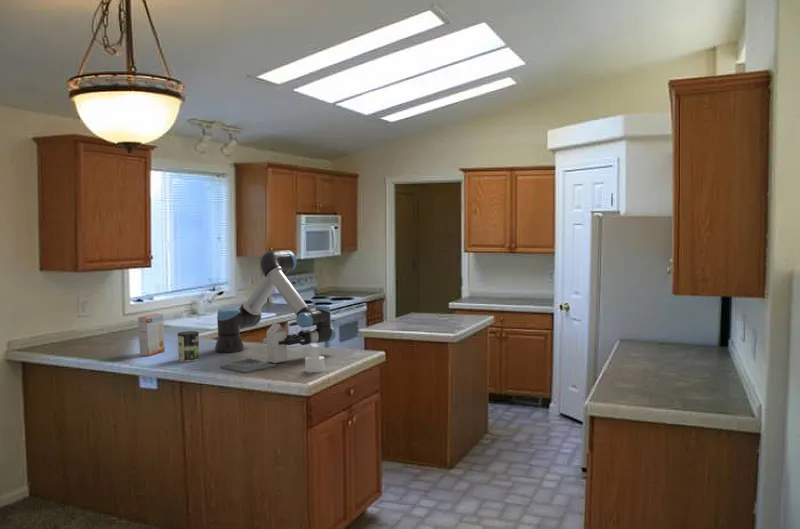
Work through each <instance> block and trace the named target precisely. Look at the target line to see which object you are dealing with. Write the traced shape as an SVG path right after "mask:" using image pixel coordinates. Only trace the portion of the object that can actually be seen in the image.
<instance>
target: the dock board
mask: <svg viewBox="0 0 800 529" xmlns="http://www.w3.org/2000/svg"><path fill="white" fill-rule="evenodd" d="M249 364H254V363H253V362H248V363H244V364H243V365H249ZM276 367H277V363H272V362H267V365H262V366H258V367H253V368H248V369H243V368H238V367H234V366H230V363H226V364H221V365H220V367H219V368H220V369H225V370H230V371H234V372H238V373H243V374H250V373H254V372H258V371H263V370H268V369H271V368H276Z"/></svg>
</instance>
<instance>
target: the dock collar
mask: <svg viewBox="0 0 800 529" xmlns="http://www.w3.org/2000/svg"><path fill="white" fill-rule="evenodd" d="M248 362H253V363H254V364H249V365H243V364H244V363H248ZM267 363H268V361H265V360H261V359H257V358H247V359H246V358H245V359H241V360H237V361H236V360H235V361H231V362H229V364H230V366H234V367H238V368H243V369H248V368H253V367H258V366H262V365H267Z"/></svg>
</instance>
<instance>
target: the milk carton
mask: <svg viewBox="0 0 800 529" xmlns="http://www.w3.org/2000/svg"><path fill="white" fill-rule="evenodd" d="M271 324H272V325H271V326H270V327H269V328H268V329H267V331H266V338H267V344H266V360H267V362H268V363H272V364H277V363H278V364H279V363H282V362H287V361H288V359H287V358H288V356H287V355H288V347H287V346H288V345H285V344H284V345H280V346H273V347H272V341H274V340H282V339H284V341H285V338H286V335H287V330H285V329H284V328H283V327H282V326H281V324H280V323H275V322H271Z"/></svg>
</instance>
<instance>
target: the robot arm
mask: <svg viewBox="0 0 800 529" xmlns="http://www.w3.org/2000/svg"><path fill="white" fill-rule="evenodd" d="M297 263H298V260H297V258H296V255H295V253H294V252H292V251H291V250H289V249H281V250H279V249H278V250H268V251H266V252H264V253H263V254H262V255H261V257H260V261H259V267H260V271H261V272H262V274H263V276H262V277H261V279H260V280H259V282H258V284H257V285H256V287H255V288H254V290H253V291H252V293H251V295H250V296H249V298H248V299H247V300H244V301H243V302H242V304H241V305H240V306H239V307H238V306H227V307H226V306H225V307H222V308H220V309H219V310H218V311H217V317H216V318H217V319H216V320H217V340H216V342H215V346H214V351H215V352H216V353H221V352H230V353H236V351H238V352H242V351H243V350H244V344H243V341H242V338H241V332H240V331H241V330H242V329H243V330H244V329H247V328H253V327H255V326H257V325H259V323H260V322H261V321H262V307H263V306H264V304H265V303H266V301H267V299H268V298H269V297H270V295H271V294H272V292H273V291H274V289H276V290H277V291H278V293H279V294H280V296H282V298H283V299H284V301H285V303H286V304H287V305H288V306H289V308H290V309H291V311H292V312H293V313H294V315H295V316H296V319H295V320H296V325H298V326H299V327H300V328H309V329H304V330H299V331H298V333H297V334H286V338H285V341H284V339H282V340H274V341H272V347H273V346H280V345H284V344H285V345H287V346H292V345H298V344H300V345H301V346H306V345H310V344H313V343H316V344H320V343H328V342H332V341H334V340H335V338H336V334H337V333H336V330H335V328H334V327H333V326H332V325H331V307H330V305H328V304H319V305H316V306H315V309H314V310H311V308H310V307H309V306H308V304H307V303H306V301H304V299H303V297H301V296H302V295H300V293H299V292H298V291H297V290H296V289H295V286H293V284H292V283H291V282H290V280H289V279H288V278H287V274H288V272H291V271H293V270H295V268H297V267H296V266H297ZM313 326H316V327H315V328H310V327H313ZM263 345H267V337H266V338H263ZM241 350H242V351H241Z"/></svg>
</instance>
